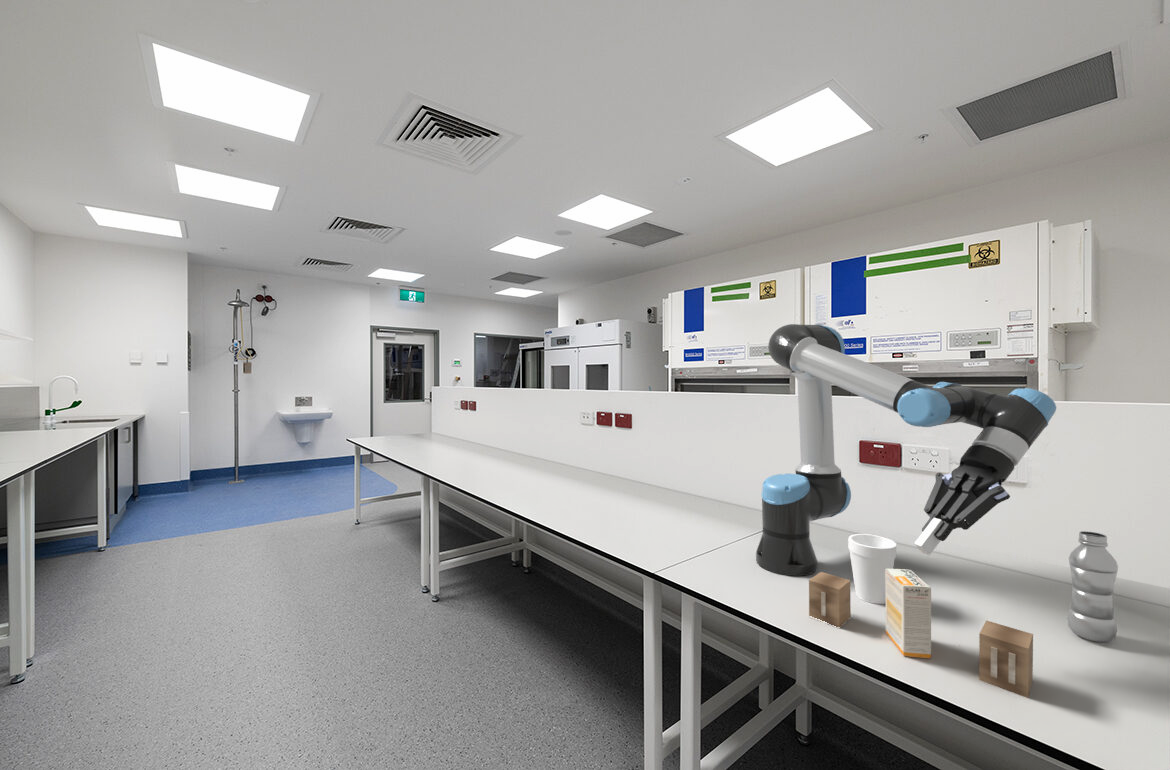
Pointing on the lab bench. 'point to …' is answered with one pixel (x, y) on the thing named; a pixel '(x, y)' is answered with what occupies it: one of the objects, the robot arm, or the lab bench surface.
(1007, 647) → the walnut block two
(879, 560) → the foam cup
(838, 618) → the walnut block one
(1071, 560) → the plastic bottle
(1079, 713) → the lab bench surface
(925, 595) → the supplement box
